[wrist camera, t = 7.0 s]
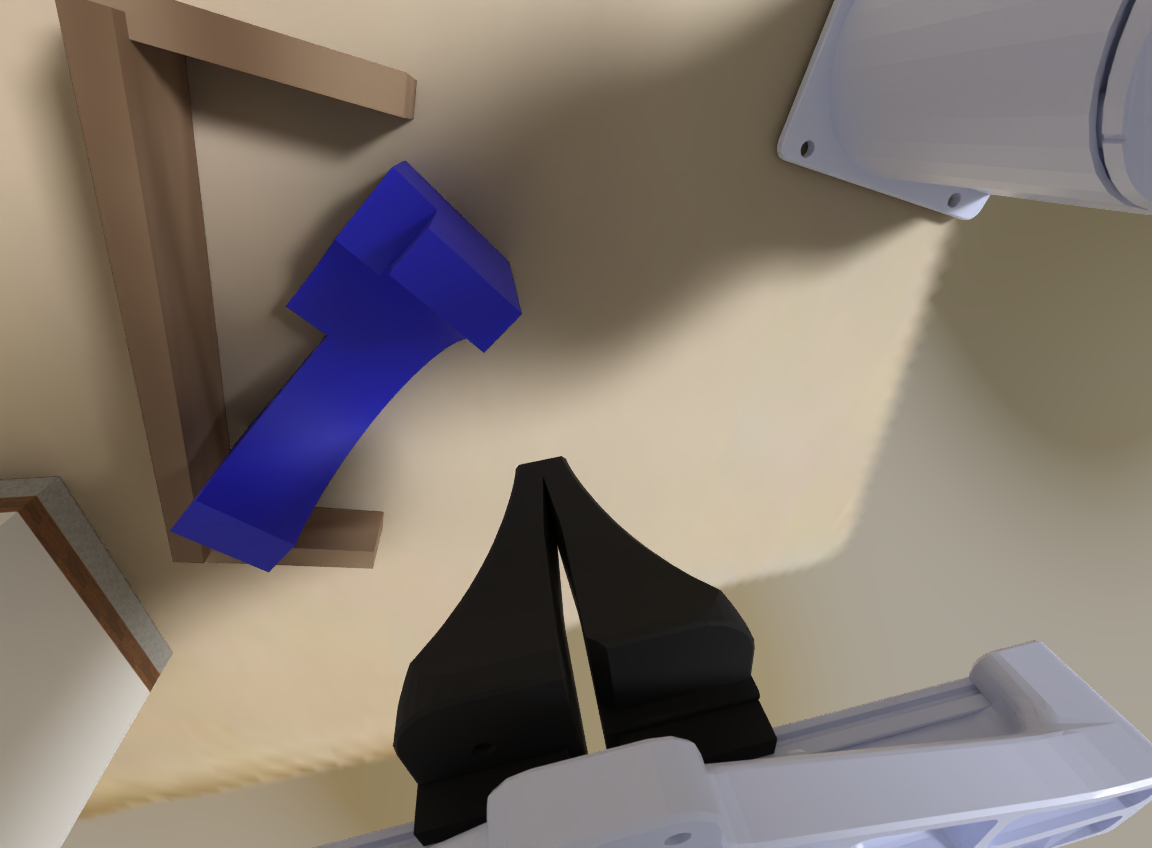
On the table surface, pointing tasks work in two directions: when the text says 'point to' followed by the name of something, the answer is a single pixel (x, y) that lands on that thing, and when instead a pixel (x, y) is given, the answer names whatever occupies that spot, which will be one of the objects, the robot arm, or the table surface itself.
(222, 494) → the cable clip
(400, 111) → the frame
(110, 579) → the display case
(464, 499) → the table surface
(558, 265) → the table surface
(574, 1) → the table surface
